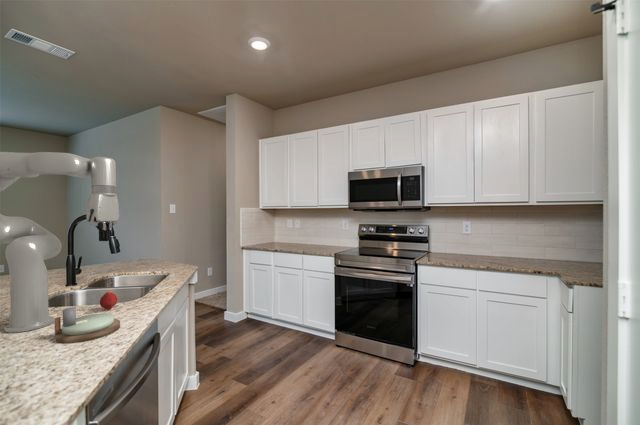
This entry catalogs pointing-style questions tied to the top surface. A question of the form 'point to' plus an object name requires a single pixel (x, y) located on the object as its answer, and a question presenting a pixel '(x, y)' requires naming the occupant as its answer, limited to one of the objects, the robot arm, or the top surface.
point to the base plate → (83, 337)
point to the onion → (108, 300)
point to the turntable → (84, 322)
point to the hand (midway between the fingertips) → (104, 240)
